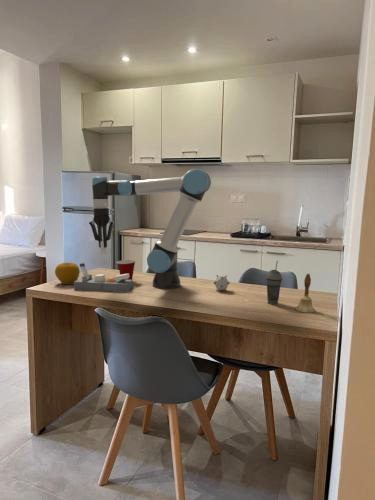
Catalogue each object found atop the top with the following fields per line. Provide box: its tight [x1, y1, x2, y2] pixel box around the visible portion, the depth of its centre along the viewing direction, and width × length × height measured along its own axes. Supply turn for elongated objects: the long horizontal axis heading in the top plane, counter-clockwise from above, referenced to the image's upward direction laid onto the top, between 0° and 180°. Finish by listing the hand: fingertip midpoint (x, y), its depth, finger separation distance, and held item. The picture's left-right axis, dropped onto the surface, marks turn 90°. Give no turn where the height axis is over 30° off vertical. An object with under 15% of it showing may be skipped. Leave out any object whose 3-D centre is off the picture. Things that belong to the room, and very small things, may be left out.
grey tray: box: [73, 273, 133, 293], centre depth 188 cm, size 28×10×6 cm, turn 83°
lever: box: [79, 262, 90, 280], centre depth 189 cm, size 3×5×9 cm, turn 173°
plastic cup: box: [116, 259, 136, 280], centre depth 204 cm, size 11×11×12 cm
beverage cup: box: [265, 260, 283, 306], centre depth 165 cm, size 7×7×20 cm
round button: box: [106, 276, 115, 282], centre depth 188 cm, size 4×4×4 cm
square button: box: [94, 273, 106, 282], centre depth 188 cm, size 4×4×4 cm
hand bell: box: [295, 273, 316, 314], centre depth 156 cm, size 8×8×16 cm
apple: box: [54, 262, 80, 285], centre depth 198 cm, size 13×13×11 cm
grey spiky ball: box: [213, 274, 231, 292], centre depth 187 cm, size 9×8×10 cm
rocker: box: [114, 273, 130, 281], centre depth 187 cm, size 6×4×2 cm, turn 83°
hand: (103, 253), depth 186 cm, fingers closed
